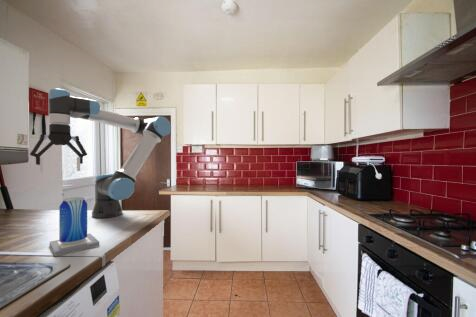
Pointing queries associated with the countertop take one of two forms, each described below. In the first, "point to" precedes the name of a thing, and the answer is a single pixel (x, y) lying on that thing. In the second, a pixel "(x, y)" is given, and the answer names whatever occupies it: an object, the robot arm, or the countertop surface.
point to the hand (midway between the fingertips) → (60, 171)
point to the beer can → (73, 221)
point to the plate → (73, 246)
